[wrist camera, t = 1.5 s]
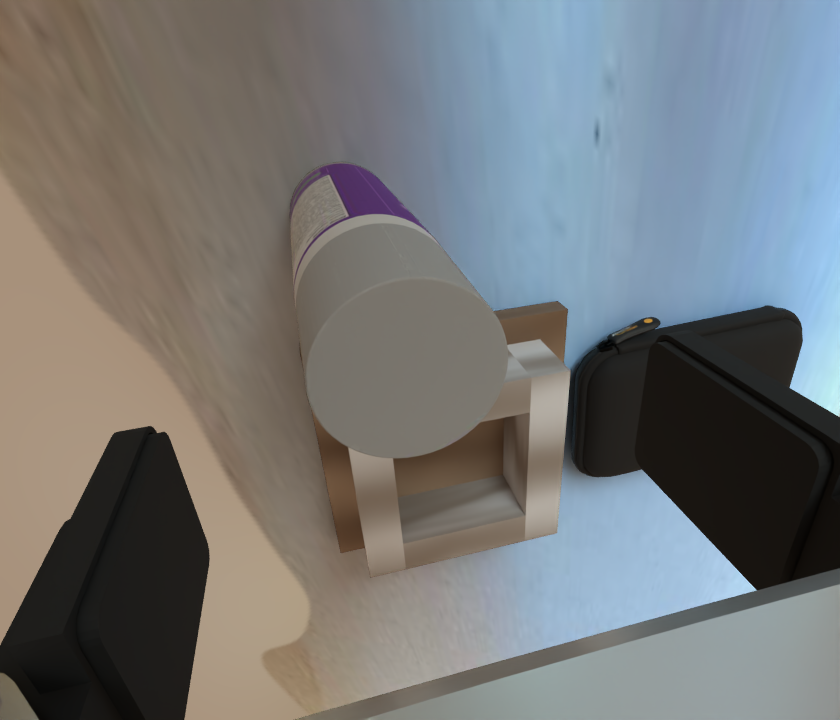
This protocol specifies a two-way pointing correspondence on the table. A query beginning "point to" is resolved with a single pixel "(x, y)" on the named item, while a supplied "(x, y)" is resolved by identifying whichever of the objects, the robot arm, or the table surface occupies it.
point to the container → (386, 321)
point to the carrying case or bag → (626, 368)
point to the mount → (465, 466)
